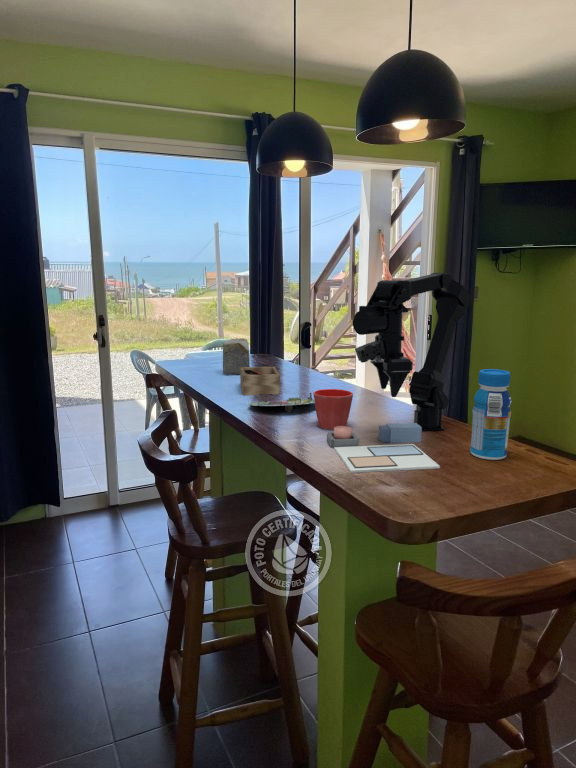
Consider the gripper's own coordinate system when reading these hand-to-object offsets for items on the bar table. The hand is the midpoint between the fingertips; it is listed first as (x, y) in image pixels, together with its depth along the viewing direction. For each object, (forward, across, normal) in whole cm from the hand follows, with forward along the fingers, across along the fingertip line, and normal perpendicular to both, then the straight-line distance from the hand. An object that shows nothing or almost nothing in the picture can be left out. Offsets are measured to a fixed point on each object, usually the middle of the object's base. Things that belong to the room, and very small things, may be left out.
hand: (388, 392), depth 138 cm
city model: (+13, -36, -23) cm, 45 cm away
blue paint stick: (+12, +2, +3) cm, 13 cm away
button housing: (+12, +3, -12) cm, 18 cm away
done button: (+12, +3, -12) cm, 18 cm away
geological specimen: (+13, -96, -38) cm, 104 cm away
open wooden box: (+12, -63, -30) cm, 71 cm away
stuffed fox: (+12, -64, -32) cm, 73 cm away
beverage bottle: (+12, +15, +20) cm, 28 cm away
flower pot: (+12, -13, -12) cm, 21 cm away
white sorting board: (+12, +15, -5) cm, 20 cm away
